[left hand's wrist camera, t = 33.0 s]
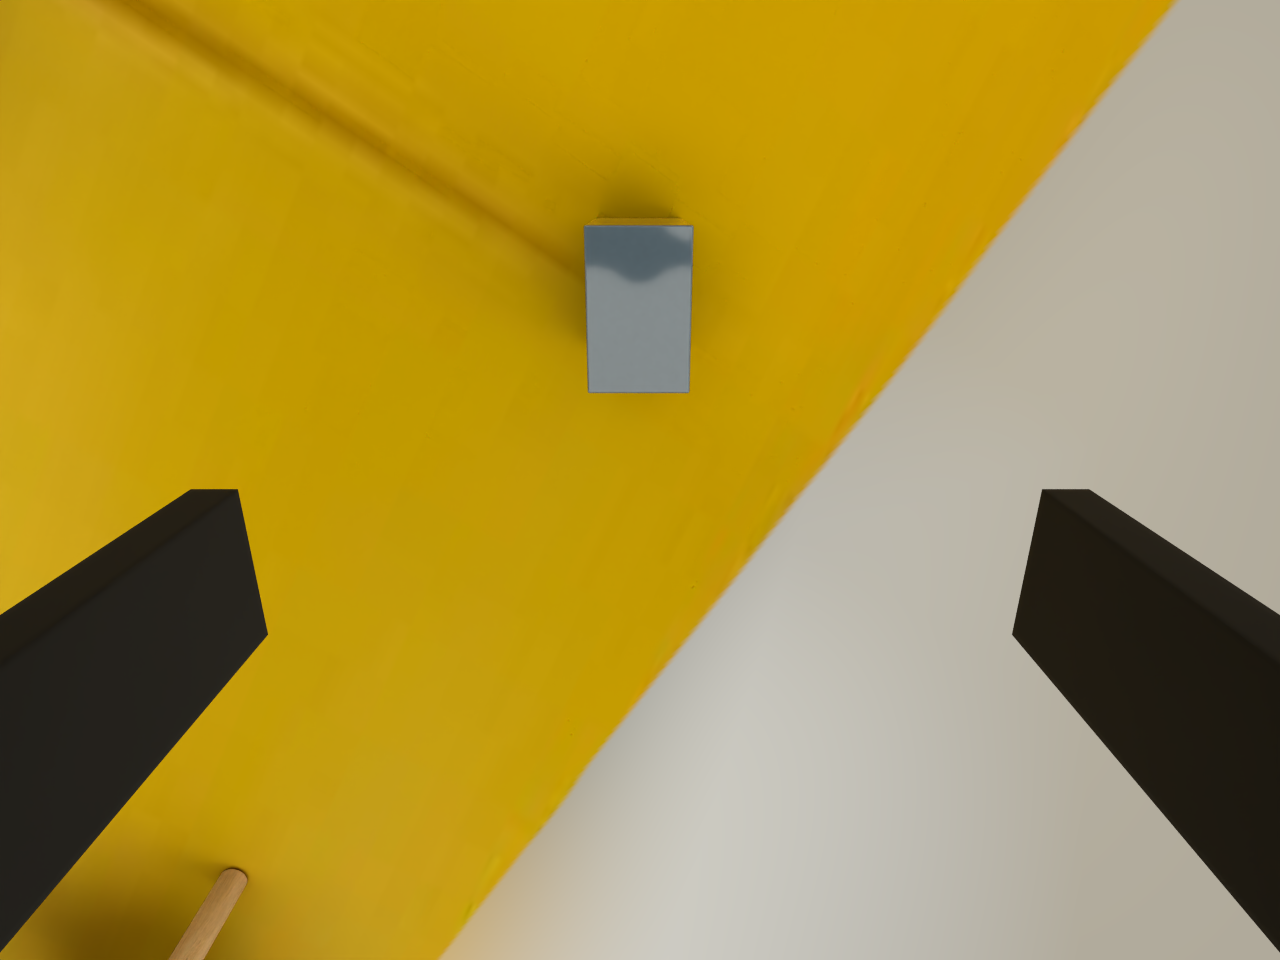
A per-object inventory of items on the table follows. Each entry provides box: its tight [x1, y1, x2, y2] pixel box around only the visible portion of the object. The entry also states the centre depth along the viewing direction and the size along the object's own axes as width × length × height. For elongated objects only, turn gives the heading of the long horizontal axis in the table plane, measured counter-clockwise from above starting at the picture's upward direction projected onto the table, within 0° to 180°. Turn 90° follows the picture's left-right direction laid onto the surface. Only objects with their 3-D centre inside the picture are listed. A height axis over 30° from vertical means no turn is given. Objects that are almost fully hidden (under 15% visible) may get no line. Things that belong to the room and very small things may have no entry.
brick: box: [584, 218, 693, 393], centre depth 45 cm, size 6×9×12 cm, turn 0°
